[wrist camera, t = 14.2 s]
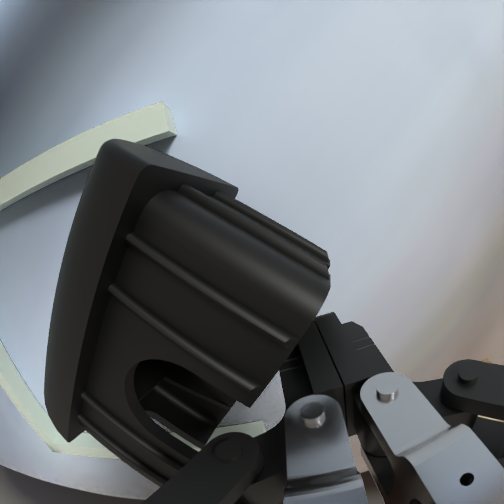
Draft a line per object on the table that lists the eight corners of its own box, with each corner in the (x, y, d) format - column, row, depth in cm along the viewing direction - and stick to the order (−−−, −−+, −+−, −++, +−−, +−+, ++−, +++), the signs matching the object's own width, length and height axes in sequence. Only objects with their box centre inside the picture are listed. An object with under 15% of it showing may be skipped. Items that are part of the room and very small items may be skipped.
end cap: (184, 158, 12) (61, 119, 6) (336, 241, 11) (346, 278, 4) (111, 337, 14) (16, 389, 8) (221, 416, 13) (157, 513, 7)
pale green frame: (-52, 224, 11) (-66, 229, 10) (170, 108, 11) (162, 101, 9) (58, 439, 16) (52, 451, 15) (266, 431, 16) (268, 448, 15)
